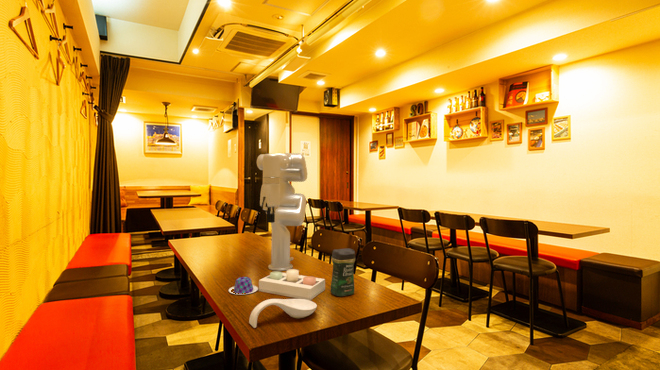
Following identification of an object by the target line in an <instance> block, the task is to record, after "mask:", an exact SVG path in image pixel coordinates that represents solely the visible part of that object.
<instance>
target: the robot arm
mask: <svg viewBox="0 0 660 370" xmlns="http://www.w3.org/2000/svg"><path fill="white" fill-rule="evenodd" d="M305 159H306V158H305V156H304V155H303V154H302V153H299V152H297V153H296V152H295V153H294V152H292V153H291V152H290V153H289V152H284V153H283V152H279V153H265V154H262V153H261V154H259V155H258V156H257V158H256V166H257V168H258V169H259V170H260V171H262V184H261V188H260V194H259V195H260V197H259V206H260V207H261V208H262V210H263V211H265V214H266V223H270V225H271V258H270V259H271V263H269V264H268V267H267V268H268V270H271V271H279V272H282V271H287V270H289V269H294V268H293V267H294V266H293V264H292V263H291V261H293V260H294V257H293V256H291V233H290V231H289V229H288V228H287V227H289V226H290V227H299V226H302V225H304V224H303V223H304V222H305V221H304V220H305V215H306V210H307V209H306V208H307V197H306V196H305V194H303V193H295V188H294V186H293V185H292V184H291V183H297V182H299V183H300V182H301V183H302V182H305V181H307V178H308V169H307V162H306V160H305ZM290 182H291V183H290Z"/></svg>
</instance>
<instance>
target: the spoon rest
mask: <svg viewBox="0 0 660 370" xmlns="http://www.w3.org/2000/svg"><path fill="white" fill-rule="evenodd" d="M270 306H276V307H278V308H280V309H282V310H283V311H284V312H285V313H286V314H287V315H289V316H290V317H291V318H294V319H303V318H306V317H308V316H311V315H312V314H313V313H314V312H315V311H316V309H317V307H318V305H317V303H316V302H314V301H312V300H306V299H299V298H286V299H285V298H284V299H283V298H270V299H269V298H268V299H266V300H263V301H261V302H260V303H258V304H257V305H256V306H255V307H254V308H253V309H252V311H251V312H250V315H249V321H248V323H249V324H250V325H251V327H252V328H254V329H255V328H257V326H258V317H259V315H260V313H261V312H262V311H263V310H264V309H265V308H268V307H270Z"/></svg>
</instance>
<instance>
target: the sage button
mask: <svg viewBox="0 0 660 370" xmlns="http://www.w3.org/2000/svg"><path fill="white" fill-rule="evenodd" d="M282 273H283V272H282V271H275V270H273V271H272V272H269V275H270V279H274V280H280V279H282Z"/></svg>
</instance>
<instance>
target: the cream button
mask: <svg viewBox="0 0 660 370" xmlns="http://www.w3.org/2000/svg"><path fill="white" fill-rule="evenodd" d="M299 272H300V270H299V269H295V268H292V269H289V270H285V273H286V282H292V283H296V282H298V281H299V275H300V274H299Z"/></svg>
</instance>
